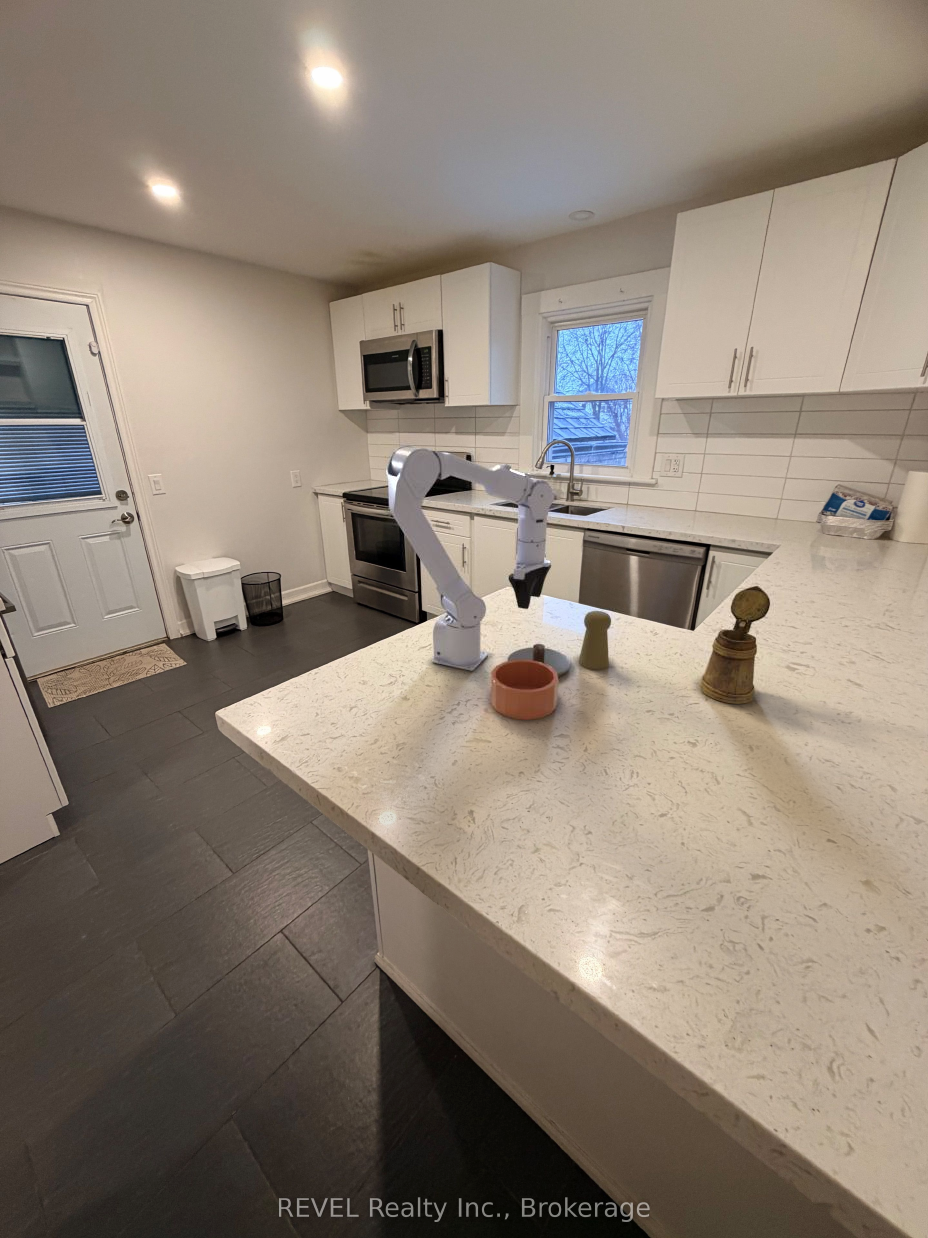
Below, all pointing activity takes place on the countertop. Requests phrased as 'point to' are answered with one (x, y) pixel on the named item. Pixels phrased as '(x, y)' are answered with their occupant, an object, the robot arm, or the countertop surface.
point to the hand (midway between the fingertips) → (529, 601)
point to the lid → (543, 657)
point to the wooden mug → (736, 651)
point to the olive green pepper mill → (595, 641)
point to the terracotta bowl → (524, 689)
